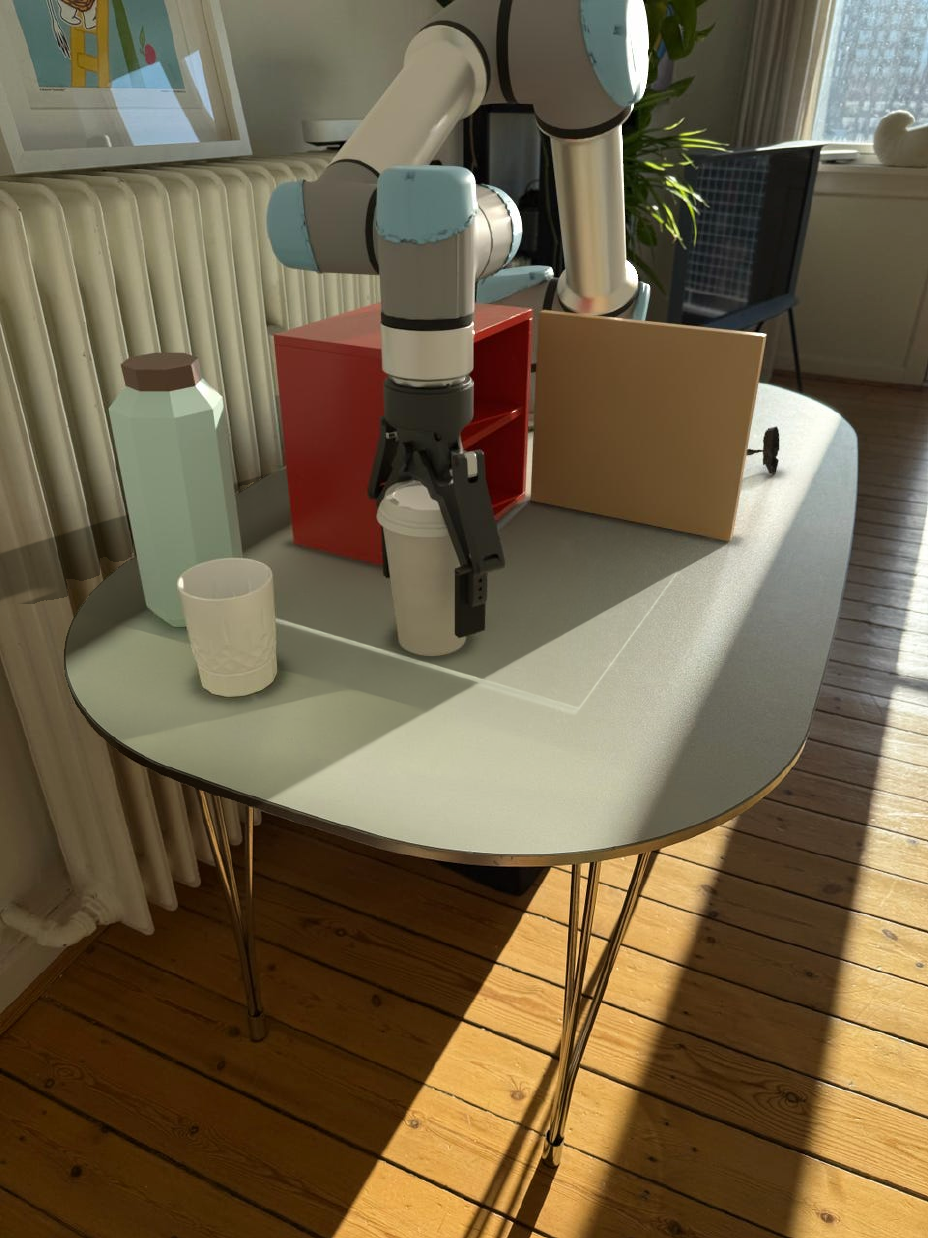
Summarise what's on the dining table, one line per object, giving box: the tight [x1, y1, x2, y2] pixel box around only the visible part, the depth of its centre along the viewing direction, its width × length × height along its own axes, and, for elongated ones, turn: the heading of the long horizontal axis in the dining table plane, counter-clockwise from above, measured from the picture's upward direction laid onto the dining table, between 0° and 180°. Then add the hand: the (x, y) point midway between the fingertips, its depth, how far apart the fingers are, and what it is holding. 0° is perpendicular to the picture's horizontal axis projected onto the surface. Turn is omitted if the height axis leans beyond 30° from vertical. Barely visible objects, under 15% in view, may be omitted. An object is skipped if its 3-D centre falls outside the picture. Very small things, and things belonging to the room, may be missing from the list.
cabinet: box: [272, 301, 533, 567], centre depth 106 cm, size 18×26×24 cm
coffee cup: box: [377, 479, 470, 657], centre depth 83 cm, size 10×10×15 cm
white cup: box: [177, 557, 278, 698], centre depth 78 cm, size 8×8×10 cm
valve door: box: [529, 310, 768, 542], centre depth 109 cm, size 8×26×24 cm, turn 61°
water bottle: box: [108, 352, 244, 628], centre depth 86 cm, size 10×10×25 cm
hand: (431, 601), depth 85 cm, fingers open, 13 cm apart
